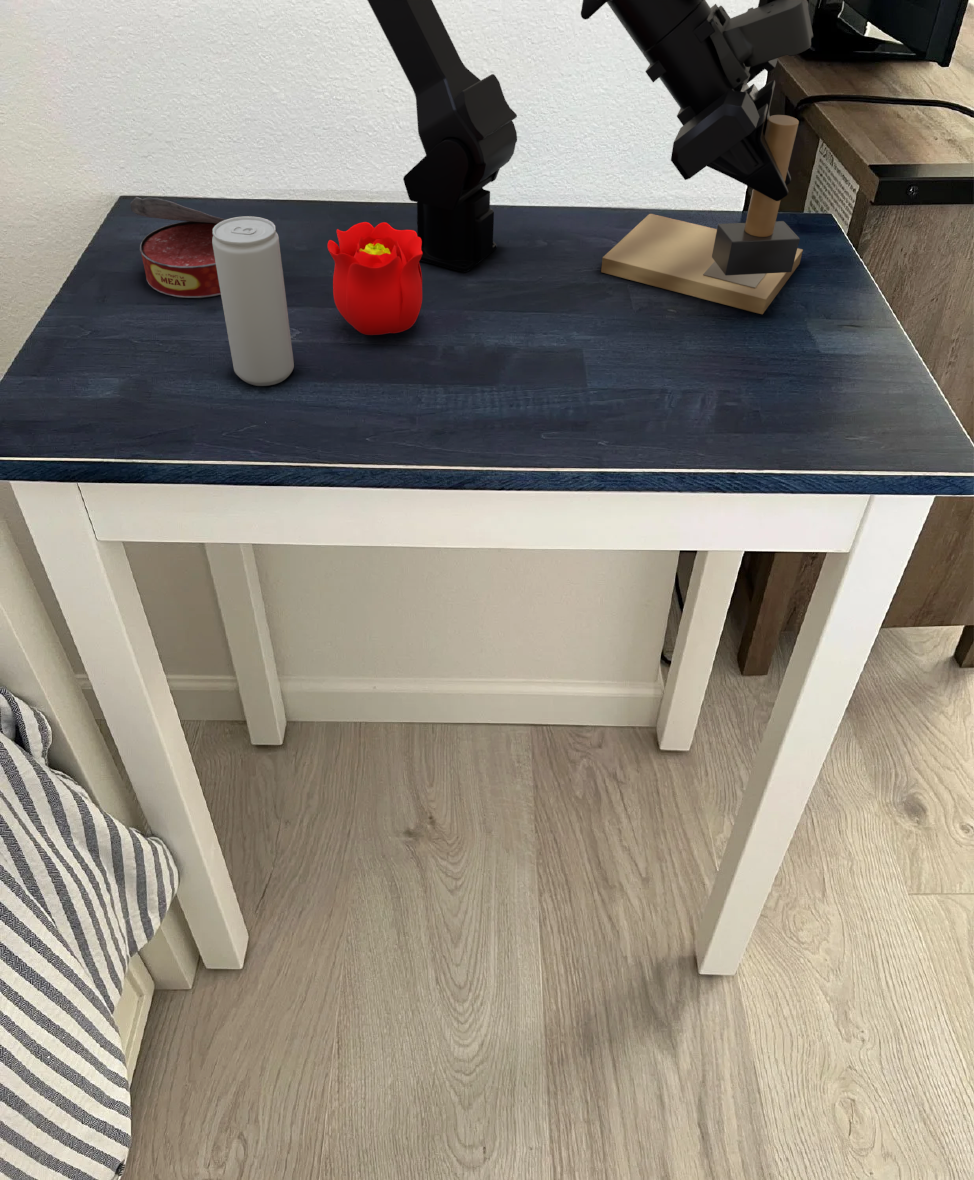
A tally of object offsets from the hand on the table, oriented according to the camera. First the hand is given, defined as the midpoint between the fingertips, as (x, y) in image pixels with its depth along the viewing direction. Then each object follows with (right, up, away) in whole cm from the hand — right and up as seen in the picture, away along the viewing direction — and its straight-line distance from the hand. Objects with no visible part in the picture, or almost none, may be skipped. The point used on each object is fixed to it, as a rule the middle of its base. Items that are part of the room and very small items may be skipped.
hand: (784, 191), depth 83 cm
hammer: (-2, -4, +5) cm, 7 cm away
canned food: (-51, -3, +12) cm, 53 cm away
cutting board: (-4, -2, +15) cm, 16 cm away
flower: (-34, -10, +5) cm, 35 cm away
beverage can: (-42, -15, -1) cm, 45 cm away
